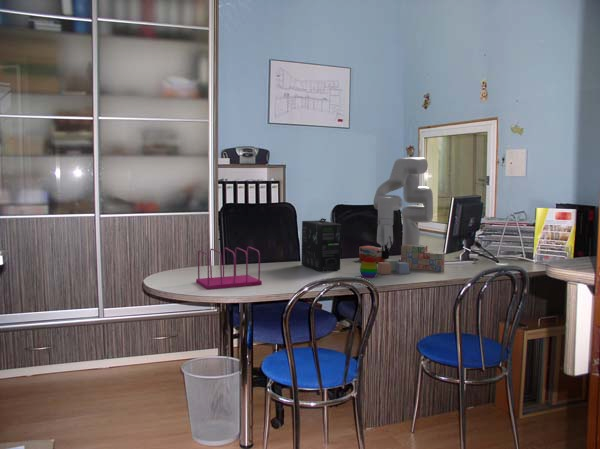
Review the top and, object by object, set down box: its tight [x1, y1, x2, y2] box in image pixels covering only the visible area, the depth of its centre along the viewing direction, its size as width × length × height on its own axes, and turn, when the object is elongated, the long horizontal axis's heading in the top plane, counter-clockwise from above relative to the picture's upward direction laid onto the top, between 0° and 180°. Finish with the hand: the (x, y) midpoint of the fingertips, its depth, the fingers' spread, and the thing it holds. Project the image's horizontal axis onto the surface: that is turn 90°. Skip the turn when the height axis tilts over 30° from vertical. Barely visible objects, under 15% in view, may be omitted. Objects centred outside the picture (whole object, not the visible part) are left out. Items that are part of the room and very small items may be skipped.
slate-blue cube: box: [395, 261, 410, 275], centre depth 267 cm, size 5×5×5 cm
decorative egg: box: [359, 257, 378, 279], centre depth 256 cm, size 8×8×10 cm
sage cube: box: [385, 258, 399, 271], centre depth 275 cm, size 5×5×5 cm
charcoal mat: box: [376, 268, 411, 276], centre depth 271 cm, size 16×17×1 cm
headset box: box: [300, 217, 342, 273], centre depth 282 cm, size 22×12×26 cm, turn 26°
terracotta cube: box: [377, 262, 392, 275], centre depth 266 cm, size 5×5×5 cm
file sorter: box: [195, 246, 263, 290], centre depth 240 cm, size 17×25×16 cm
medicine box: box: [358, 245, 386, 264], centre depth 305 cm, size 15×8×8 cm, turn 33°
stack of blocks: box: [400, 244, 446, 272], centre depth 280 cm, size 21×6×12 cm, turn 60°
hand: (385, 258), depth 266 cm, fingers closed
